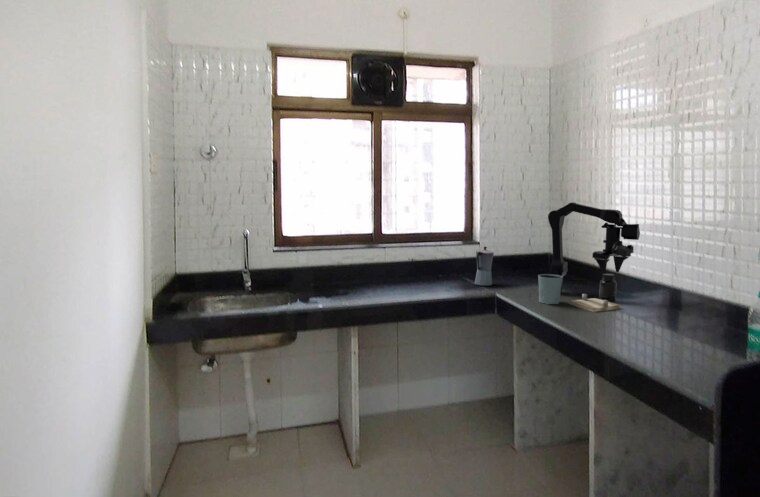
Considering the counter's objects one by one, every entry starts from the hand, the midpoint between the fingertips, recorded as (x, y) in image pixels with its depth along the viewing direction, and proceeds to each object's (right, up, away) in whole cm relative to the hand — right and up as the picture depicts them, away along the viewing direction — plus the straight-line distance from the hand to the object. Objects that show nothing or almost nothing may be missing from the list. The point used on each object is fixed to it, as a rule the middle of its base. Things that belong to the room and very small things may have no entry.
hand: (610, 273), depth 220 cm
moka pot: (-49, -8, +37) cm, 62 cm away
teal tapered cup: (-28, -13, -2) cm, 31 cm away
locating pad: (-12, -14, -10) cm, 21 cm away
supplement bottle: (-2, -13, 0) cm, 13 cm away
